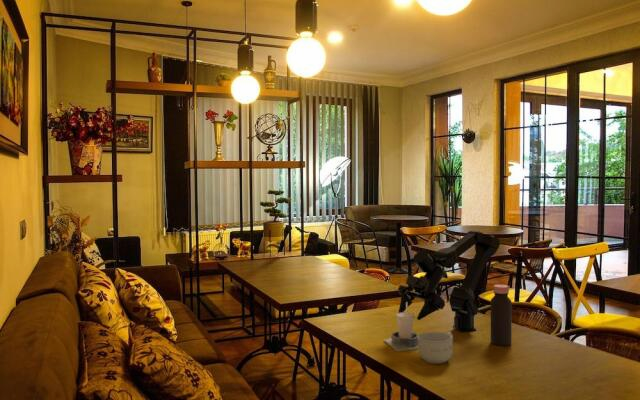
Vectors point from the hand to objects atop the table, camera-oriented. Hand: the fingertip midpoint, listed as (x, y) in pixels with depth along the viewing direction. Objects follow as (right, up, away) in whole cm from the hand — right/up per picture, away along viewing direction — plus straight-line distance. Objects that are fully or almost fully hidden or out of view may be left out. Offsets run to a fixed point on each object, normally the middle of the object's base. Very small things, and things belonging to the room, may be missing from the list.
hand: (408, 316), depth 173 cm
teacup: (+7, -10, -15) cm, 19 cm away
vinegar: (+32, -9, 0) cm, 33 cm away
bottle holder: (-1, -10, 0) cm, 10 cm away
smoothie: (-1, -9, 0) cm, 9 cm away
